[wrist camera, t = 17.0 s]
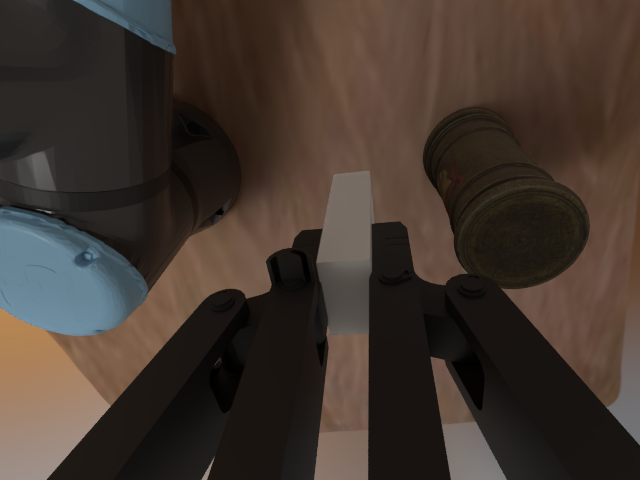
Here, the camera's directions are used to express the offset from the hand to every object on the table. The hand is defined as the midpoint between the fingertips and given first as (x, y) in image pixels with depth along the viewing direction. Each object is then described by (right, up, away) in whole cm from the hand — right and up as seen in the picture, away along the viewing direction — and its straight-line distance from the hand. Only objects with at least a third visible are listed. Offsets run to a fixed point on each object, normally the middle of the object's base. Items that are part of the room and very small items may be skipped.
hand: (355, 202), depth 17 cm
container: (+14, +8, +25) cm, 30 cm away
